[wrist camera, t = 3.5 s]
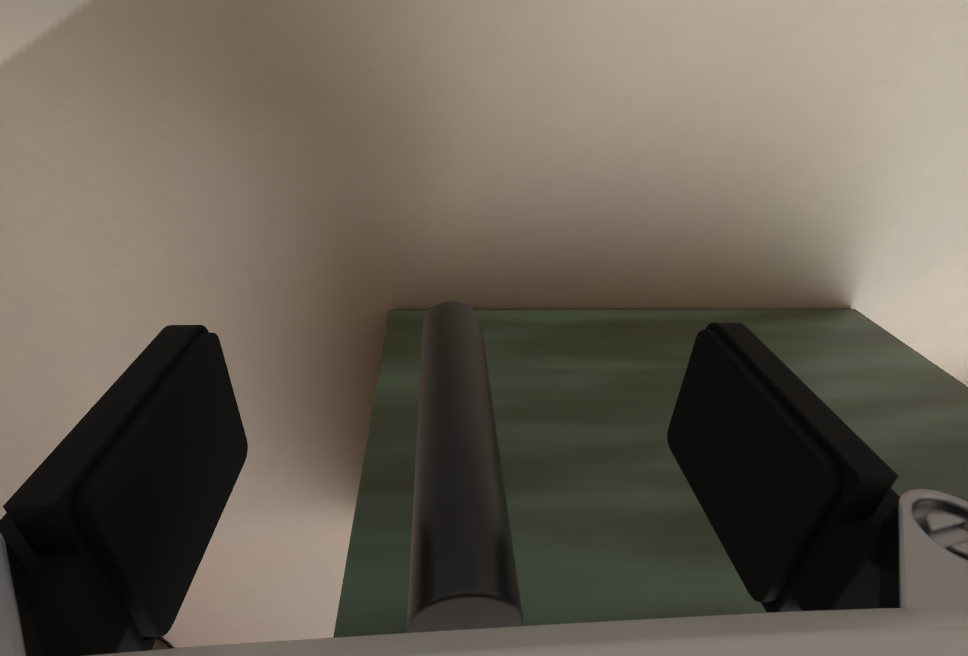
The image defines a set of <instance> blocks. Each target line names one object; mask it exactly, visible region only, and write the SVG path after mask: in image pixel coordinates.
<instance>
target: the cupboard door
mask: <svg viewBox="0 0 968 656" xmlns="http://www.w3.org/2000/svg"><path fill="white" fill-rule="evenodd" d="M723 322H738V323H742V324H744V325H745V326H746V327H747V328H748V329H749V330H750V331H751V332H752V333H753V334H755V335H756V336H757V337H758V338H759V339H760V340H761V341H762V342H763V343H764V344H765V345H766V346H767V347H768V348H769V349H770V350H771V351H772V352H773V353H774V354H775V355H776V356H777V357H778V358H779V359H780V360H781V361H782V362H783V363H784V364H785V365H786V366H787V367H788V368H789V369H790V370H791V371H792V372H793V373H794V374H795V375H796V376H797V377H798V378H799V379H800V380H801V381H802V382H803V383H804V384H806V385H807V386H808V387H809V388H810V389H811V390H812V391H813V392H814V393H815V394H816V395H817V396H818V397H819V398H820V399H821V400H822V401H823V402H824V403H825V404H826V405H827V406H828V407H829V408H830V409H831V410H832V411H833V412H834V413H835V414H836V415H837V416H838V417H839V418H840V419H841V420H842V421H843V422H844V423H845V424H846V425H847V426H848V427H849V428H850V429H851V430H852V431H853V432H854V433H855V434H856V435H858V436H859V437H860V438H861V439H862V440H863V441H864V442H865V443H866V444H867V445H868V446H869V447H870V448H871V449H872V450H873V451H874V452H875V453H876V454H877V455H878V456H879V457H880V458H881V459H882V460H883V461H884V462H885V463H886V464H887V465H888V466H889V467H890V468H891V469H892V470H893V471H894V472H895V473H896V474H897V475H898V478H897V479H896V481H895V482H894V484H893V485H892V487H891V488H892V489H893V490H894V491H895V492H896V493H897V494H898V496H899V497H900V496H901V495H903V494H904V493H906V492H907V491H909V490H916V489H927V490H935V491H940V492H943V493H946V494H949V495H953V496H956V497H958V498H960V499H963V500H965V501H967V502H968V387H967V386H966V385H964V384H963V383H961V382H960V381H958V380H957V379H955V378H954V377H953V376H951V375H950V374H948V373H947V372H945V371H944V370H942V369H941V368H939V367H938V366H937V365H935V364H934V363H932V362H931V361H929V360H928V359H926V358H925V357H924V356H922V355H921V354H919V353H918V352H916V351H915V350H913V349H912V348H910V347H909V346H908V345H906V344H905V343H903V342H902V341H900V340H899V339H897V338H896V337H894V336H893V335H892V334H890V333H889V332H887V331H886V330H884V329H883V328H881V327H880V326H878V325H877V324H876V323H874V322H873V321H871V320H870V319H868V318H867V317H865V316H864V315H863V314H861V313H860V312H858V311H857V310H855V309H673V310H474V309H472V308H471V307H470V306H468V305H466V304H464V303H460V302H444V303H441V304H439V305H437V306H435V307H434V308H432V309H431V310H389V315H388V321H387V327H386V333H385V338H384V344H383V350H382V356H381V362H380V368H379V373H378V379H377V385H376V391H375V397H374V403H373V409H372V414H371V420H370V426H369V432H368V438H367V444H366V450H365V455H364V461H363V467H362V473H361V479H360V485H359V491H358V496H357V502H356V508H355V514H354V520H353V526H352V531H351V537H350V543H349V549H348V555H347V561H346V567H345V572H344V578H343V584H342V590H341V596H340V602H339V608H338V613H337V619H336V625H335V631H334V637H333V638H337V637H352V636H368V635H384V634H399V633H416V632H433V631H449V630H466V629H483V628H500V627H517V626H534V625H551V624H569V623H586V622H603V621H621V620H640V619H658V618H677V617H696V616H715V615H734V614H753V613H767V612H766V611H765V609H764V607H763V605H762V603H761V602H757V601H755V600H754V599H753V598H752V597H751V596H750V594H749V593H748V591H747V589H746V588H745V586H744V584H743V582H742V580H741V578H740V577H739V575H738V573H737V571H736V569H735V567H734V566H733V564H732V562H731V560H730V558H729V556H728V555H727V553H726V551H725V549H724V547H723V545H722V544H721V542H720V540H719V538H718V536H717V534H716V533H715V531H714V529H713V527H712V525H711V523H710V522H709V520H708V518H707V516H706V514H705V512H704V511H703V509H702V507H701V505H700V503H699V501H698V500H697V498H696V496H695V494H694V492H693V490H692V489H691V487H690V485H689V483H688V481H687V479H686V478H685V476H684V474H683V472H682V470H681V468H680V467H679V465H678V463H677V461H676V459H675V457H674V456H673V454H672V452H671V450H670V448H669V445H668V441H667V432H668V427H669V424H670V421H671V418H672V414H673V411H674V408H675V405H676V401H677V398H678V395H679V392H680V388H681V385H682V382H683V378H684V375H685V372H686V369H687V365H688V362H689V359H690V356H691V352H692V349H693V346H694V342H695V339H696V336H697V334H698V333H699V331H701V330H705V328H706V327H707V326H708V324H710V323H723Z"/></svg>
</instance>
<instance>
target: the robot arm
mask: <svg viewBox="0 0 968 656" xmlns="http://www.w3.org/2000/svg"><path fill="white" fill-rule="evenodd" d="M667 441H668V445H669V448H670V450H671V452H672V454H673V456H674V457H675V459H676V461H677V463H678V465H679V467H680V468H681V470H682V472H683V474H684V476H685V478H686V479H687V481H688V483H689V485H690V487H691V489H692V490H693V492H694V494H695V496H696V498H697V500H698V501H699V503H700V505H701V507H702V509H703V511H704V512H705V514H706V516H707V518H708V520H709V522H710V523H711V525H712V527H713V529H714V531H715V533H716V534H717V536H718V538H719V540H720V542H721V544H722V545H723V547H724V549H725V551H726V553H727V555H728V556H729V558H730V560H731V562H732V564H733V566H734V567H735V569H736V571H737V573H738V575H739V577H740V578H741V580H742V582H743V584H744V586H745V588H746V589H747V591H748V593H749V594H750V596H751V597H752V598H753V599H754V600H755V601H757V602H761V603H762V605H763V607H764V609H765V611H766V612H767V613H753V614H734V615H715V616H696V617H677V618H658V619H640V620H621V621H603V622H586V623H569V624H551V625H534V626H517V627H500V628H483V629H466V630H449V631H433V632H416V633H399V634H384V635H368V636H352V637H337V638H321V639H305V640H290V641H274V642H259V643H243V644H227V645H212V646H198V647H186V648H174V649H161V650H152V648H153V646H154V644H155V642H156V639H157V637H158V636H164V635H165V634H167V633H168V631H169V630H170V629H171V627H172V625H173V623H174V621H175V618H176V616H177V614H178V612H179V609H180V607H181V605H182V603H183V600H184V598H185V596H186V593H187V591H188V589H189V587H190V584H191V582H192V580H193V578H194V575H195V573H196V571H197V569H198V566H199V564H200V562H201V560H202V557H203V555H204V553H205V551H206V548H207V546H208V544H209V541H210V539H211V537H212V535H213V532H214V530H215V528H216V526H217V523H218V521H219V519H220V517H221V514H222V512H223V510H224V508H225V505H226V503H227V501H228V499H229V496H230V494H231V492H232V489H233V487H234V485H235V483H236V480H237V478H238V476H239V474H240V471H241V469H242V467H243V465H244V462H245V460H246V456H247V449H248V445H247V439H246V435H245V431H244V428H243V424H242V421H241V417H240V413H239V410H238V406H237V402H236V399H235V395H234V391H233V388H232V384H231V381H230V377H229V373H228V370H227V366H226V362H225V359H224V355H223V351H222V348H221V344H220V341H219V338H218V336H217V335H216V334H215V333H209V332H208V330H207V329H206V327H205V326H203V325H169V326H166V327H165V328H164V329H163V330H162V331H161V332H160V333H159V334H158V335H157V336H156V337H155V339H154V340H153V341H152V342H151V343H150V344H149V345H148V346H147V347H146V349H145V350H144V351H143V352H142V353H141V354H140V355H139V356H138V357H137V359H136V360H135V361H134V362H133V363H132V364H131V365H130V366H129V367H128V368H127V370H126V371H125V372H124V373H123V374H122V375H121V376H120V377H119V378H118V380H117V381H116V382H115V383H114V384H113V385H112V386H111V387H110V388H109V390H108V391H107V392H106V393H105V394H104V395H103V396H102V397H101V398H100V399H99V401H98V402H97V403H96V404H95V405H94V406H93V407H92V408H91V409H90V411H89V412H88V413H87V414H86V415H85V416H84V417H83V418H82V419H81V421H80V422H79V423H78V424H77V425H76V426H75V427H74V428H73V429H72V431H71V432H70V433H69V434H68V435H67V436H66V437H65V438H64V439H63V440H62V442H61V443H60V444H59V445H58V446H57V447H56V448H55V449H54V450H53V452H52V453H51V454H50V455H49V456H48V457H47V458H46V459H45V460H44V462H43V463H42V464H41V465H40V466H39V467H38V468H37V469H36V470H35V472H34V473H33V474H32V475H31V476H30V477H29V478H28V479H27V480H26V481H25V483H24V484H23V485H22V486H21V487H20V488H19V489H18V490H17V491H16V493H15V494H14V495H13V496H12V497H11V498H10V499H9V500H8V501H7V503H6V504H5V505H4V506H3V507H4V509H5V510H6V512H7V513H6V514H5V515H4V517H3V518H2V519H1V520H0V656H968V502H967V501H965V500H963V499H960V498H958V497H956V496H953V495H949V494H946V493H943V492H940V491H935V490H927V489H916V490H909V491H907V492H906V493H904V494H903V495H901V496H900V497H899V496H898V494H897V493H896V492H895V491H894V490H893V489H892V488H891V487H892V485H893V484H894V482H895V481H896V479H897V478H898V475H897V474H896V473H895V472H894V471H893V470H892V469H891V468H890V467H889V466H888V465H887V464H886V463H885V462H884V461H883V460H882V459H881V458H880V457H879V456H878V455H877V454H876V453H875V452H874V451H873V450H872V449H871V448H870V447H869V446H868V445H867V444H866V443H865V442H864V441H863V440H862V439H861V438H860V437H859V436H858V435H856V434H855V433H854V432H853V431H852V430H851V429H850V428H849V427H848V426H847V425H846V424H845V423H844V422H843V421H842V420H841V419H840V418H839V417H838V416H837V415H836V414H835V413H834V412H833V411H832V410H831V409H830V408H829V407H828V406H827V405H826V404H825V403H824V402H823V401H822V400H821V399H820V398H819V397H818V396H817V395H816V394H815V393H814V392H813V391H812V390H811V389H810V388H809V387H808V386H807V385H806V384H804V383H803V382H802V381H801V380H800V379H799V378H798V377H797V376H796V375H795V374H794V373H793V372H792V371H791V370H790V369H789V368H788V367H787V366H786V365H785V364H784V363H783V362H782V361H781V360H780V359H779V358H778V357H777V356H776V355H775V354H774V353H773V352H772V351H771V350H770V349H769V348H768V347H767V346H766V345H765V344H764V343H763V342H762V341H761V340H760V339H759V338H758V337H757V336H756V335H755V334H753V333H752V332H751V331H750V330H749V329H748V328H747V327H746V326H745V325H744V324H742V323H738V322H723V323H710V324H708V326H707V327H706V328H705V330H701V331H699V333H698V334H697V336H696V339H695V342H694V346H693V349H692V352H691V356H690V359H689V362H688V365H687V369H686V372H685V375H684V378H683V382H682V385H681V388H680V392H679V395H678V398H677V401H676V405H675V408H674V411H673V414H672V418H671V421H670V424H669V427H668V432H667Z"/></svg>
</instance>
